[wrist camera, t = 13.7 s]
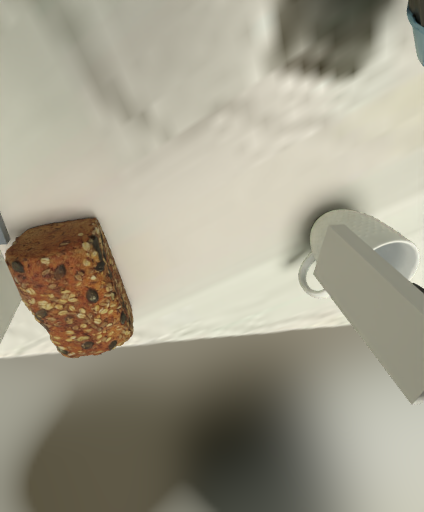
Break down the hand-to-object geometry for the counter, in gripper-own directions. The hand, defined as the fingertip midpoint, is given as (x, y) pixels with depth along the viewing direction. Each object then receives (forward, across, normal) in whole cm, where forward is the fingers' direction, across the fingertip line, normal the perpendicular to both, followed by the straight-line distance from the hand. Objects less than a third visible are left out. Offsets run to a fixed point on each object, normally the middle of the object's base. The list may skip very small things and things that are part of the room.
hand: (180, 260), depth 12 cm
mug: (+28, +27, -17) cm, 42 cm away
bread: (+28, -12, -21) cm, 37 cm away
